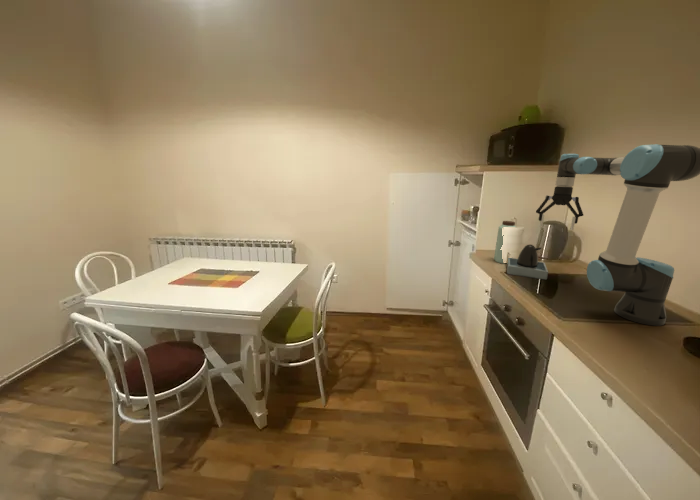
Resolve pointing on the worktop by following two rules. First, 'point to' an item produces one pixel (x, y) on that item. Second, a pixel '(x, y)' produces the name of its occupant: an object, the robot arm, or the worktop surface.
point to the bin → (527, 270)
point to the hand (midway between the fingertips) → (555, 228)
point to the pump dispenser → (528, 257)
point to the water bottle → (501, 240)
